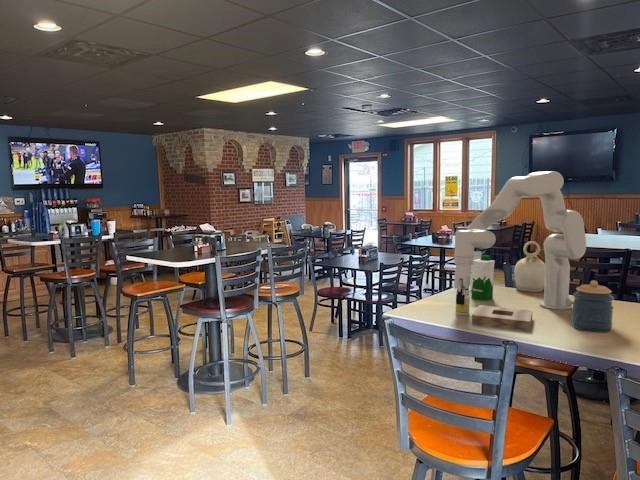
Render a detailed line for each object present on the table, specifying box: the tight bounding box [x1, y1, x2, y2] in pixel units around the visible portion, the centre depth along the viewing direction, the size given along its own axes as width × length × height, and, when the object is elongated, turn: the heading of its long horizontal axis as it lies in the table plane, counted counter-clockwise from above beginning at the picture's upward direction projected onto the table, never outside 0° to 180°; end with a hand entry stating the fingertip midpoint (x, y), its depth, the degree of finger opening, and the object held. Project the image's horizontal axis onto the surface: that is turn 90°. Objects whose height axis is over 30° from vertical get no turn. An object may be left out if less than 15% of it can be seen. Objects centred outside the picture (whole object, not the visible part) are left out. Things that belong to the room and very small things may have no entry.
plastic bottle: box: [469, 250, 483, 291], centre depth 238 cm, size 6×7×20 cm
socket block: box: [471, 304, 534, 332], centre depth 181 cm, size 20×18×4 cm
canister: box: [571, 279, 615, 333], centre depth 173 cm, size 13×13×18 cm
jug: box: [513, 240, 545, 293], centre depth 241 cm, size 15×16×25 cm
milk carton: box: [470, 254, 496, 301], centre depth 221 cm, size 9×9×20 cm
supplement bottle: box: [455, 290, 471, 316], centre depth 194 cm, size 5×5×10 cm
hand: (462, 301), depth 194 cm, fingers open, 9 cm apart
